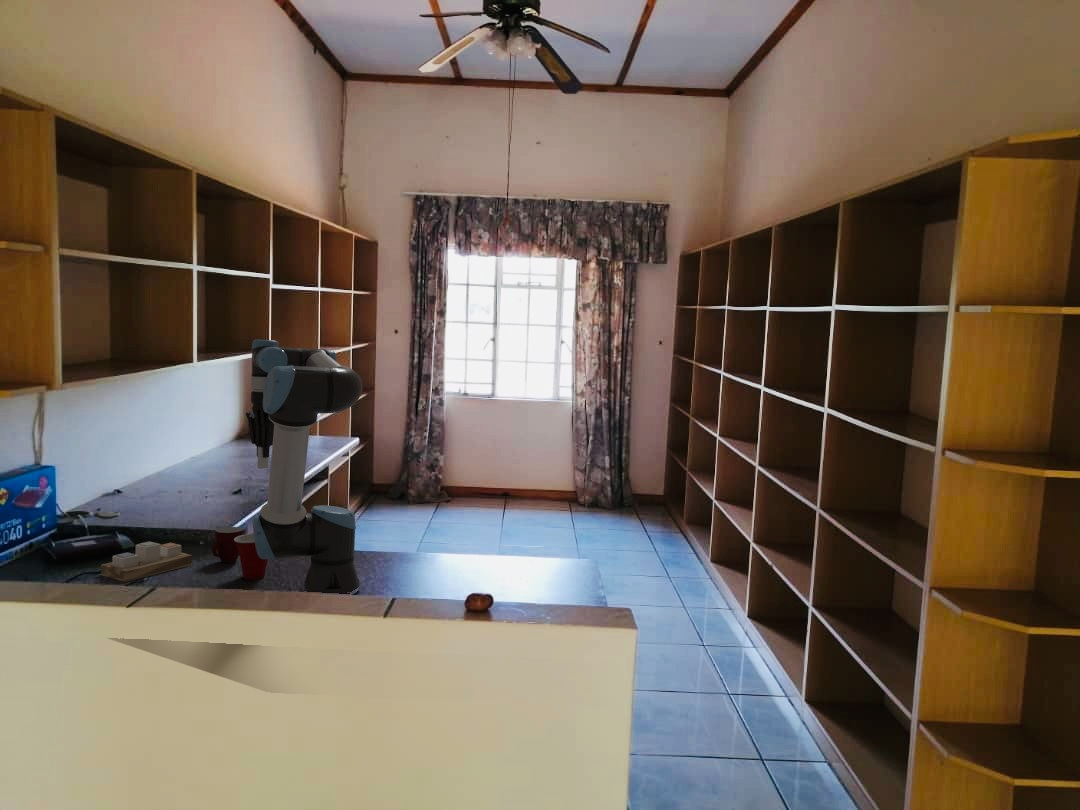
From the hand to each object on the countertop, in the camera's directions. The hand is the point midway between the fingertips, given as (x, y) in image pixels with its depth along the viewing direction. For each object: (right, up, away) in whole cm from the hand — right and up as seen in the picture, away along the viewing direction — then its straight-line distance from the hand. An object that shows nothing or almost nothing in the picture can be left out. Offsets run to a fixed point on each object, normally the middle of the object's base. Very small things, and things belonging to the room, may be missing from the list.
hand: (262, 467), depth 233 cm
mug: (-11, -29, 0) cm, 31 cm away
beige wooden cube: (-30, -26, -11) cm, 41 cm away
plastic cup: (+2, -31, -12) cm, 33 cm away
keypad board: (-30, -29, -10) cm, 43 cm away
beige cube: (-26, -28, -4) cm, 39 cm away
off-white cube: (-33, -28, -17) cm, 47 cm away
